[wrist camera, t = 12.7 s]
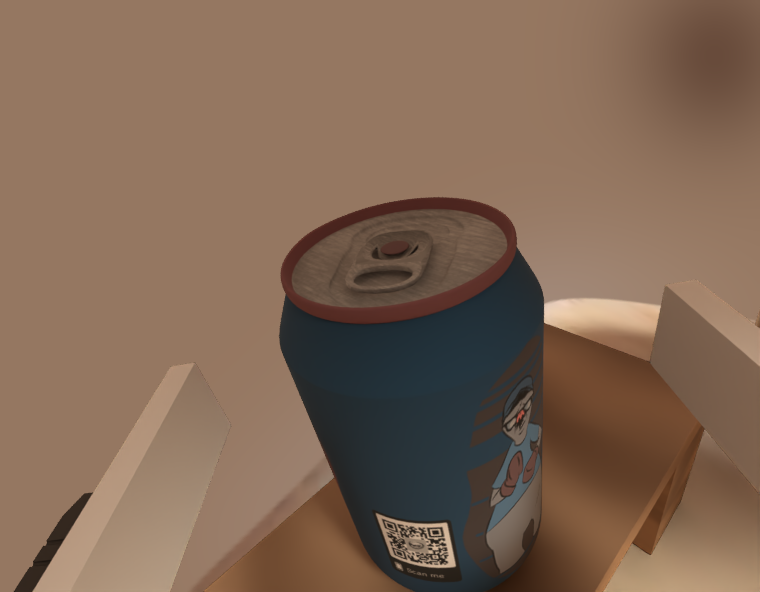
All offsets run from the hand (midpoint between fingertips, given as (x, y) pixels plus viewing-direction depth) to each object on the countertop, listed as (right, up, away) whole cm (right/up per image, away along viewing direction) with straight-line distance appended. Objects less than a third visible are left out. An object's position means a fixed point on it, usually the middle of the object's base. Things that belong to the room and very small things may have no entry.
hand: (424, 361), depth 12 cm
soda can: (+1, -7, +5) cm, 8 cm away
